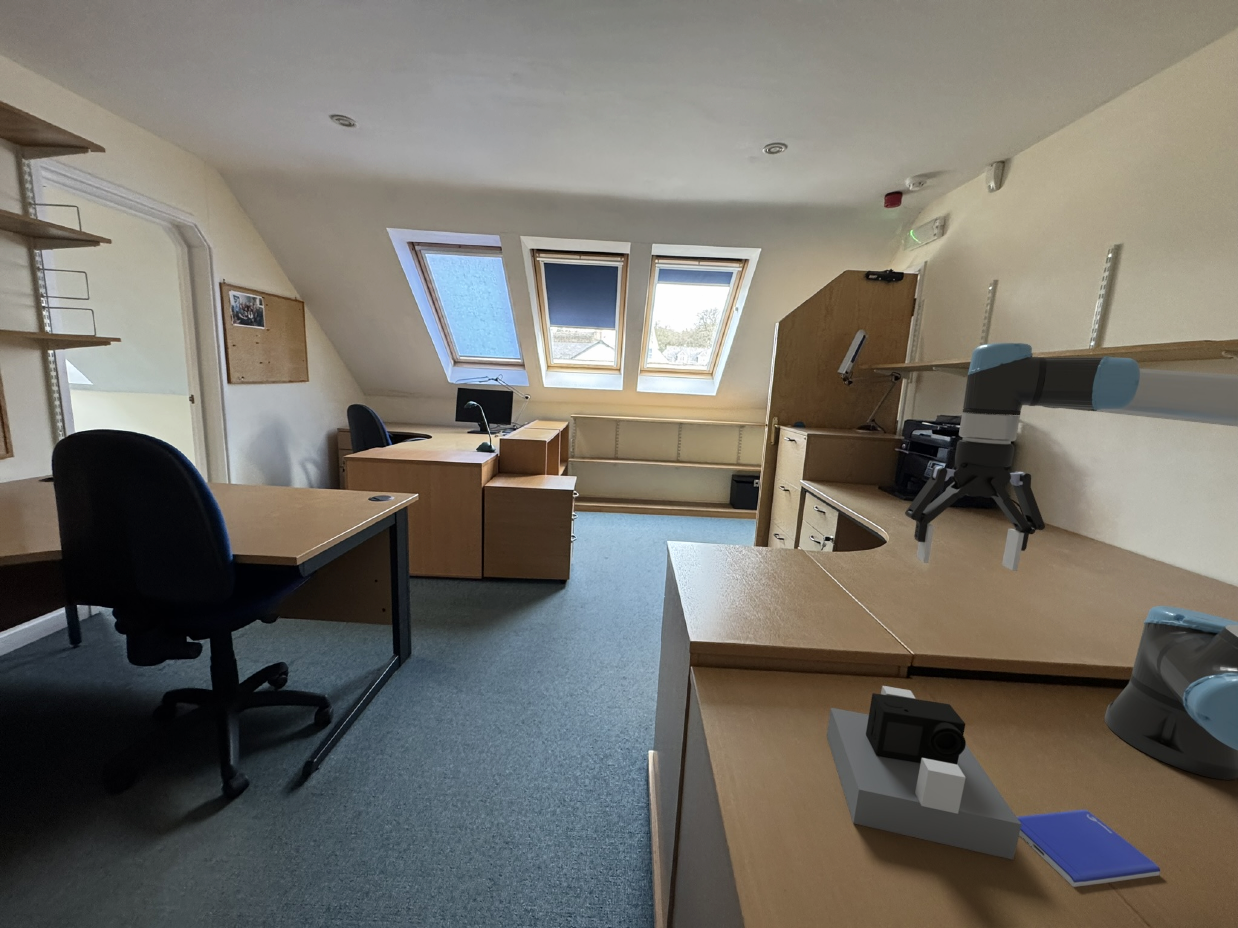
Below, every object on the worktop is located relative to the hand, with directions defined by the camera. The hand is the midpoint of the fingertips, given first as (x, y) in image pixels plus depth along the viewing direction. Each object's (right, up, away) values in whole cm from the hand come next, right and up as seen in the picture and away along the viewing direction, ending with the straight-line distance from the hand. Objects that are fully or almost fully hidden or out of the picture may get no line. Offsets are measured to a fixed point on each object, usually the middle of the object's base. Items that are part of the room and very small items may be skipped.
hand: (965, 564), depth 81 cm
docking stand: (-19, -29, -14) cm, 37 cm away
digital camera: (-18, -24, -15) cm, 33 cm away
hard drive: (-2, -32, -22) cm, 38 cm away
